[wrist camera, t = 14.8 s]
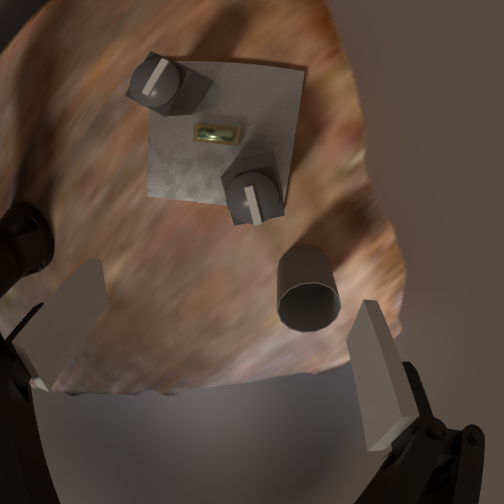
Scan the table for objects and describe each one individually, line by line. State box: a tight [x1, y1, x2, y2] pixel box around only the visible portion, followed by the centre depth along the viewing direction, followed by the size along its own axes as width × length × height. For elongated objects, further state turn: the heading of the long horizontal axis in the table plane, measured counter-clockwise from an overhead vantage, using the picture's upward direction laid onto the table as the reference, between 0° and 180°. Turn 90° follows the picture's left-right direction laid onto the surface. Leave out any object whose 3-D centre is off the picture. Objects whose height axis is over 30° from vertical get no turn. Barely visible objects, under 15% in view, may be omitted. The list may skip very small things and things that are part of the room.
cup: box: [277, 246, 341, 332], centre depth 41 cm, size 8×8×10 cm
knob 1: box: [126, 51, 213, 117], centre depth 28 cm, size 5×5×11 cm
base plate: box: [147, 61, 305, 206], centre depth 36 cm, size 20×20×1 cm
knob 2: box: [220, 152, 285, 226], centre depth 33 cm, size 5×5×11 cm
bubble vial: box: [192, 123, 242, 146], centre depth 35 cm, size 6×2×3 cm, turn 83°
